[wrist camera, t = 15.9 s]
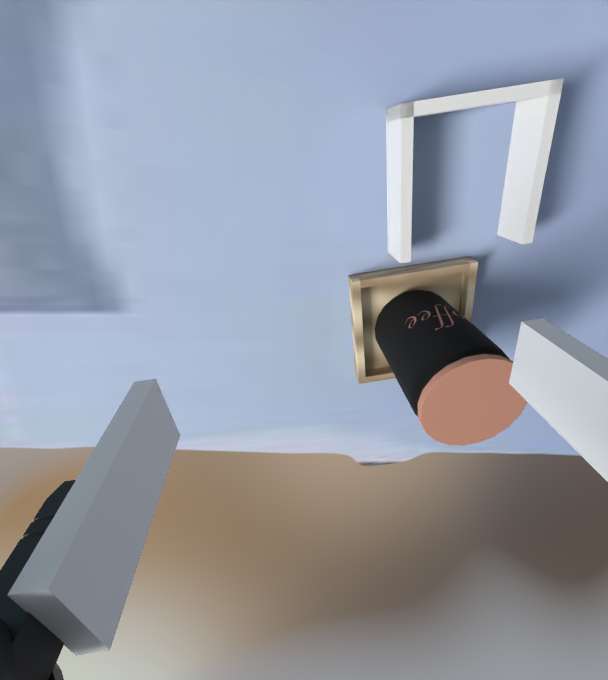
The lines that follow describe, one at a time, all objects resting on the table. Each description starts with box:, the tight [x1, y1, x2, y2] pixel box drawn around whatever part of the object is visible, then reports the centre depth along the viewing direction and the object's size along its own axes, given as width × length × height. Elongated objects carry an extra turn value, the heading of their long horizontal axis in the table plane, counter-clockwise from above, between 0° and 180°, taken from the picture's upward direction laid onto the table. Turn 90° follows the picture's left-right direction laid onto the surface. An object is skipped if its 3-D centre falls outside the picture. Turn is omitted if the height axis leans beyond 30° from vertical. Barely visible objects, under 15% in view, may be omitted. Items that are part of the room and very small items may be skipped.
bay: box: [386, 78, 564, 263], centre depth 38 cm, size 15×15×5 cm
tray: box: [348, 257, 478, 384], centre depth 48 cm, size 16×16×2 cm
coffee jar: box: [375, 290, 527, 445], centre depth 40 cm, size 11×11×18 cm
